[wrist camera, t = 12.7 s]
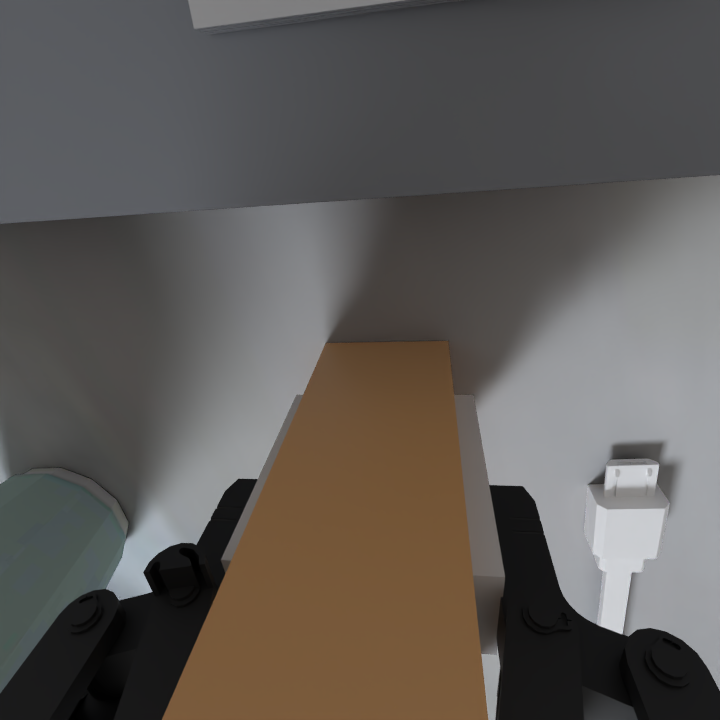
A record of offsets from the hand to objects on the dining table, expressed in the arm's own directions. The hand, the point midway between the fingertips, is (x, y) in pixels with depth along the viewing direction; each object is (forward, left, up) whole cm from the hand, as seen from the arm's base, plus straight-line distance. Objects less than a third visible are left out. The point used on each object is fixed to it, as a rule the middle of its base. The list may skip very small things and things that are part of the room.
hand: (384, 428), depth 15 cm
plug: (0, 0, -2) cm, 2 cm away
